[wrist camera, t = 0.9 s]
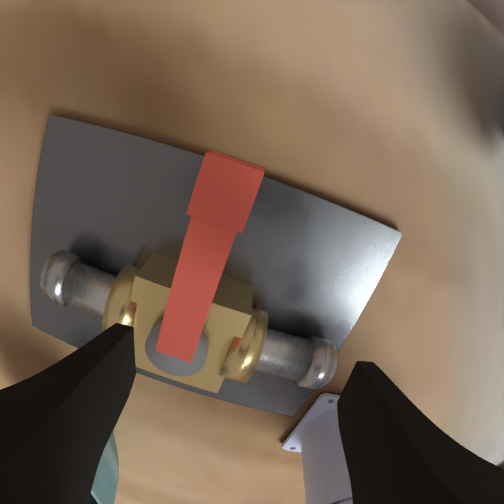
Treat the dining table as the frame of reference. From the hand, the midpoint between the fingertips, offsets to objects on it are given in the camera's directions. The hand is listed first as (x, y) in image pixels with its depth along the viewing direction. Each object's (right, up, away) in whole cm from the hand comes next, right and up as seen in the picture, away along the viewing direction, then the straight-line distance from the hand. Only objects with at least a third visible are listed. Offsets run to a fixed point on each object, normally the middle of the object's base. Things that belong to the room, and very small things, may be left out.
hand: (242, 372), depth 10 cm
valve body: (-4, +2, +10) cm, 11 cm away
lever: (-2, +3, +5) cm, 6 cm away
